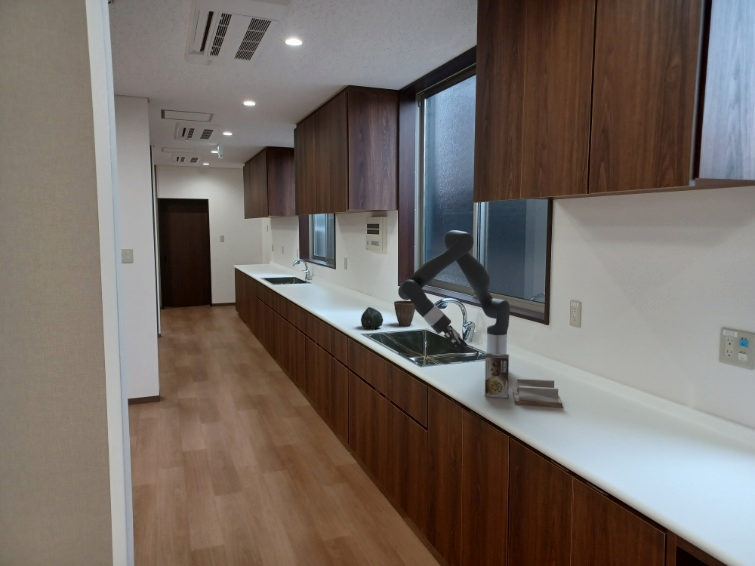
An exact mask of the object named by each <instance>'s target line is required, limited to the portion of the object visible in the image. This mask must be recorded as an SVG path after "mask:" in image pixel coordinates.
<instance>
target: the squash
mask: <svg viewBox="0 0 755 566" xmlns="http://www.w3.org/2000/svg"><path fill="white" fill-rule="evenodd" d="M360 317H361V318H360V324H361V327H363V328H364V329H368V330H370V329H371V330H377V329H379V328H380V327H381V326H382V325H383V323H384V318H383V314H382V313H381V312H380V310H377V309H375V308H374V307H370V306H368V307H367V308H366V309H365V311H364V312H362V315H361V316H360Z"/></svg>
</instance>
